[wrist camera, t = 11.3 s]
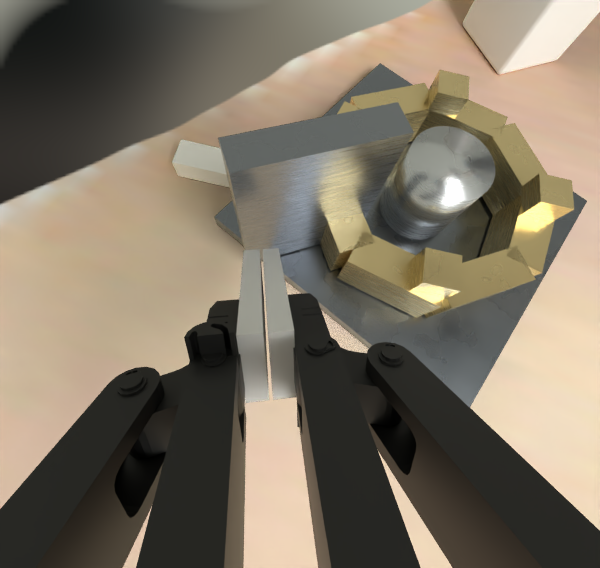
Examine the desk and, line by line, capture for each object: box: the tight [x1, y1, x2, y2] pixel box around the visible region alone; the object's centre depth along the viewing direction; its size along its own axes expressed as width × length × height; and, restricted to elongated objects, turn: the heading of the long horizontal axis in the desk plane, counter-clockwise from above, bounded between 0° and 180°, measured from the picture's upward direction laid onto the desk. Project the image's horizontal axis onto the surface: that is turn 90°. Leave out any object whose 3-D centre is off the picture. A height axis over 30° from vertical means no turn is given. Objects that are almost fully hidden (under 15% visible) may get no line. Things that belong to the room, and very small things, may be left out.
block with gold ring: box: [218, 70, 574, 318], centre depth 17 cm, size 20×15×9 cm
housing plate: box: [215, 64, 587, 408], centre depth 20 cm, size 20×20×6 cm
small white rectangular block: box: [172, 139, 230, 188], centre depth 22 cm, size 4×2×2 cm, turn 79°
